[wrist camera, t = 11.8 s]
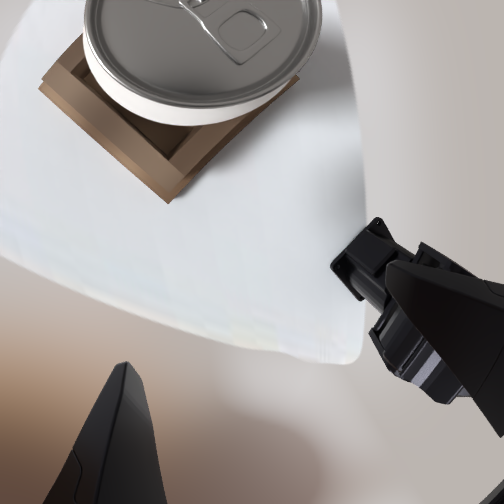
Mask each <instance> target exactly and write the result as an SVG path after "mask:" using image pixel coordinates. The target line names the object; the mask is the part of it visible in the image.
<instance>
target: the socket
mask: <svg viewBox="0 0 504 504" xmlns="http://www.w3.org/2000/svg"><path fill="white" fill-rule="evenodd" d="M298 72H299V71H298ZM42 80H43V81H44V82H43V83H42V84H41V85H40V87H39V88H38V89H39V90H40V91H41V92H42V93H43V94H44V95H45V96H46V97H48V98H49V99H50V100H51V101H52V102H53V103H54V104H55V105H56V106H57V107H59V108H60V109H61V110H62V111H63V112H64V113H65V114H66V115H67V116H68V117H70V118H71V119H72V120H73V121H74V122H75V123H76V124H77V125H78V126H80V127H81V128H82V129H83V130H84V131H85V132H86V133H87V134H89V135H90V136H91V137H92V138H93V139H94V140H95V141H96V142H97V143H99V144H100V145H101V146H102V147H103V148H104V149H105V150H107V151H108V152H109V153H110V154H111V155H112V156H113V157H114V158H116V159H117V160H118V161H119V162H120V163H121V164H122V165H124V166H125V167H126V168H127V169H128V170H129V171H130V172H132V173H133V174H134V175H135V176H136V177H137V178H138V179H140V180H141V181H142V182H143V183H144V184H145V185H146V186H148V187H149V188H150V189H151V190H152V191H153V192H155V193H156V194H157V195H158V196H159V197H160V198H161V199H163V200H164V201H165V202H166V203H167V204H169V203H170V202H171V201H172V200H173V199H174V198H175V196H176V195H177V194H178V193H179V192H180V191H181V190H182V189H183V188H184V187H185V186H186V185H187V184H188V183H189V182H190V181H191V179H192V178H193V177H194V176H195V175H196V174H197V173H198V172H199V171H200V170H201V169H202V168H203V167H204V166H205V165H206V164H207V163H208V162H209V161H210V160H211V159H212V158H213V157H214V156H215V155H216V154H217V153H218V152H219V151H220V150H221V149H222V148H223V147H224V146H225V145H226V144H227V143H229V142H230V141H231V140H232V139H233V138H234V137H235V136H236V135H237V134H238V133H239V132H240V131H241V130H242V129H243V128H244V127H246V126H247V125H248V124H249V123H250V122H251V121H252V120H253V119H254V118H255V117H256V116H258V115H259V114H260V113H261V112H262V111H263V110H264V109H265V108H267V107H268V106H269V105H270V104H271V103H272V102H273V101H275V100H276V99H277V98H278V97H279V96H280V95H282V94H283V93H284V92H285V91H286V90H287V89H289V88H290V87H291V86H292V85H293V84H295V83H296V82H297V81H298V80H299V78H298V76H297V75H296V74H295V75H294V76H293V77H292V78H291V79H290V81H289V82H288V83H287V84H286V85H285V86H284V87H283V89H282V90H281V91H280V92H278V93H277V94H276V95H275V96H274V97H273V98H271V99H270V100H269V101H267V102H266V103H264V104H263V105H261V106H259V107H258V108H256V109H254V110H252V111H250V112H248V113H246V114H243V115H241V116H238V117H236V118H233V119H230V120H226V121H223V122H218V123H213V124H206V125H195V126H180V125H170V124H164V123H159V122H155V121H152V120H149V119H146V118H144V117H141V116H139V115H137V114H135V113H133V112H131V111H129V110H127V109H126V108H124V107H123V106H121V105H120V104H119V103H117V102H116V101H115V100H114V99H112V98H111V97H110V96H109V95H108V94H107V93H106V92H105V91H104V90H103V88H102V87H101V86H100V85H99V83H98V82H97V80H96V79H95V77H94V75H93V74H92V72H91V70H90V68H89V65H88V63H87V60H86V56H85V52H84V46H83V33H82V34H81V35H80V36H79V37H78V38H77V39H76V40H75V41H74V42H73V43H72V44H71V45H70V47H69V48H68V49H67V50H66V51H65V52H64V53H63V54H62V55H61V56H60V57H59V59H58V60H57V61H56V62H55V63H54V64H53V66H52V67H51V68H50V69H49V70H48V71H47V73H46V74H45V75H44V76H43V78H42Z"/></svg>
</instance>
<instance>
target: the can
mask: <svg viewBox="0 0 504 504" xmlns="http://www.w3.org/2000/svg"><path fill="white" fill-rule="evenodd" d="M321 25H322V5H321V0H86V5H85V13H84V26H83V46H84V52H85V56H86V60H87V63H88V65H89V68H90V70H91V72H92V74H93V75H94V77H95V79H96V80H97V82H98V83H99V85H100V86H101V87H102V88H103V90H104V91H105V92H106V93H107V94H108V95H109V96H110V97H111V98H112V99H114V100H115V101H116V102H117V103H119V104H120V105H121V106H123V107H124V108H126V109H127V110H129V111H131V112H133V113H135V114H137V115H139V116H141V117H144V118H146V119H149V120H152V121H155V122H159V123H164V124H170V125H180V126H195V125H206V124H213V123H218V122H223V121H226V120H230V119H233V118H236V117H238V116H241V115H243V114H246V113H248V112H250V111H252V110H254V109H256V108H258V107H259V106H261V105H263V104H264V103H266V102H267V101H269V100H270V99H271V98H273V97H274V96H275V95H276V94H277V93H278V92H280V91H281V90H282V89H283V87H284V86H285V85H286V84H287V83H288V82H289V81H290V79H291V78H292V77H293V76H294V75H295V74H297V73H298V71H299V70H300V69H301V68H302V67H303V66H304V65H305V63H306V62H307V60H308V59H309V57H310V56H311V54H312V52H313V50H314V48H315V46H316V44H317V41H318V38H319V35H320V30H321Z"/></svg>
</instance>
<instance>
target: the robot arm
mask: <svg viewBox="0 0 504 504" xmlns="http://www.w3.org/2000/svg"><path fill="white" fill-rule="evenodd" d="M378 221H379V222H378ZM377 223H378V224H377ZM336 265H337V266H336ZM335 266H336V267H335ZM330 268H331V270H332V271H333V272H334V273H335V274H336V276H337V277H338V278H339V279H340V280H341V281H342V282H343V284H344V285H345V286H346V287H347V288H348V289H349V291H350V292H351V293H352V294H353V295H354V296H355V298H356V299H357V300H358V301H363V300H364V299H366V300H367V301H368V302H369V303H370V304H372V305H373V306H374V307H375V308H376V309H377V310H378V311H379V312H380V313H381V316H380V318H379V319H378V321H377V322H376V324H375V325H374V327H373V328H371V330H370V331H369V335H370V337H371V339H372V341H373V343H374V345H375V346H376V348H377V350H378V352H379V354H380V356H381V358H382V360H383V361H384V363H385V365H386V367H387V369H388V370H389V371H390V372H392V373H393V374H394V375H395V376H397V377H399V378H401V379H403V380H405V381H407V382H411V383H413V384H415V385H416V386H418V387H419V388H421V389H422V390H423V391H424V392H425V393H426V394H427V395H428V396H429V397H431V398H432V399H433V400H434V401H435V402H438V403H442V404H450V403H451V402H452V401H453V400H454V399H455V398H456V397H472V398H473V400H474V402H475V403H476V404H477V406H478V407H479V409H480V410H481V411H482V413H483V414H484V416H485V417H486V418H487V420H488V421H489V423H490V424H491V426H492V427H493V428H494V430H495V432H496V433H497V434H498V436H499V437H500V438H501V437H502V436H503V435H504V284H500V283H495V282H491V281H487V280H482V279H479V278H478V277H476V276H475V275H473V274H472V273H471V272H469V271H468V270H466V269H465V268H463V267H462V266H460V265H459V264H457V263H456V262H454V261H453V260H451V259H449V258H448V257H446V256H445V255H443V254H441V253H440V252H438V251H436V250H435V249H433V248H431V247H430V246H428V245H426V244H425V243H423V242H421V243H420V245H419V249H418V251H417V253H416V255H414V254H413V253H411V252H409V251H408V250H406V249H405V248H403V247H402V246H400V245H399V244H397V243H396V242H395V241H394V239H393V238H392V236H391V234H390V232H389V230H388V228H387V226H386V225H385V223H384V221H383V220H382V219H381V218H379V217H376V218H374V219H373V220H372V222H371V223H370V224H369V225H368V226H367V227H366V228H365V229H364V230H363V231H362V232H361V233H360V234H359V235H358V236H357V237H356V238H355V239H354V240H353V241H352V242H351V243H350V245H349V246H348V247H347V248H346V249H345V250H344V251H343V252H342V253H341V254H340V255H339V256H338V257H337V258H336V259H335V260H334V261H333V262H332V263H331V265H330ZM43 504H167V500H166V496H165V491H164V487H163V482H162V477H161V472H160V467H159V461H158V456H157V450H156V443H155V437H154V430H153V424H152V420H151V416H150V412H149V408H148V404H147V400H146V396H145V391H144V386H143V382H142V380H141V378H140V376H139V375H138V373H137V372H136V371H135V369H134V368H133V366H132V365H131V364H130V363H129V362H127V361H126V362H122V363H119V364H117V365H116V366H115V367H114V369H113V371H112V373H111V375H110V376H109V378H108V380H107V382H106V384H105V386H104V387H103V389H102V391H101V393H100V395H99V397H98V399H97V400H96V402H95V404H94V406H93V408H92V410H91V412H90V414H89V416H88V418H87V420H86V421H85V424H84V425H83V427H82V429H81V431H80V433H79V436H78V438H77V439H76V441H75V444H74V446H73V450H71V452H70V454H69V456H68V458H67V460H66V462H65V464H64V466H63V468H62V470H61V472H60V474H59V476H58V477H57V479H56V481H55V483H54V485H53V486H52V488H51V490H50V491H49V493H48V495H47V497H46V498H45V500H44V502H43ZM479 504H504V480H503V481H502V482H501V483H500V484H499V485H498V486H497V487H496V488H495V489H494V490H493V491H492V492H491V493H490V494H489V495H488V496H487V497H486V498H485V499H484V500H483V501H482V502H480V503H479Z"/></svg>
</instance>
